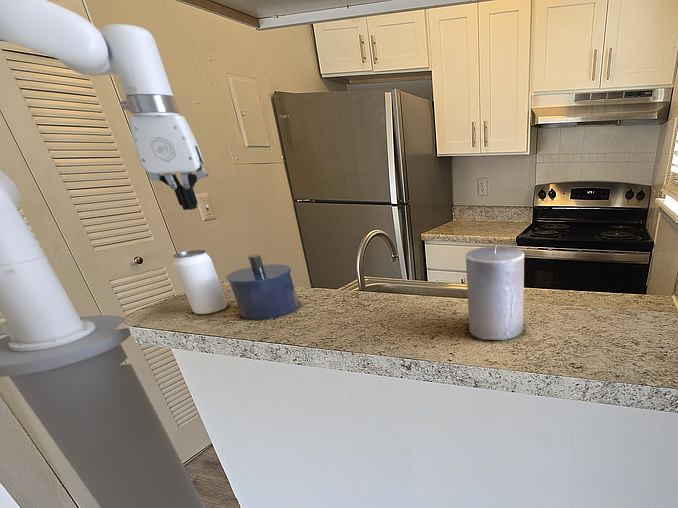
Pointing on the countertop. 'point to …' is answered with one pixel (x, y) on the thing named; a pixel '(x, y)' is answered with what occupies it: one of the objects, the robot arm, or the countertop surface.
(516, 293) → the pillar candle
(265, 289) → the pot
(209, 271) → the can
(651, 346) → the countertop surface
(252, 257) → the pot lid
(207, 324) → the countertop surface
